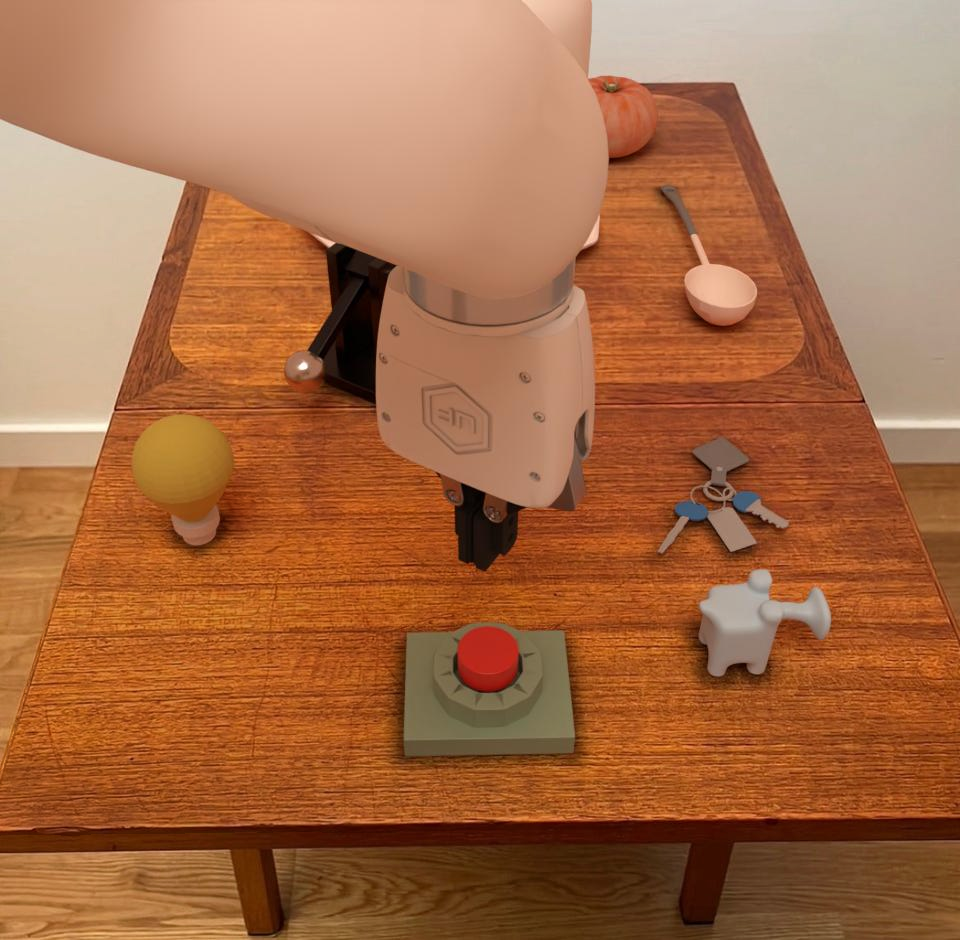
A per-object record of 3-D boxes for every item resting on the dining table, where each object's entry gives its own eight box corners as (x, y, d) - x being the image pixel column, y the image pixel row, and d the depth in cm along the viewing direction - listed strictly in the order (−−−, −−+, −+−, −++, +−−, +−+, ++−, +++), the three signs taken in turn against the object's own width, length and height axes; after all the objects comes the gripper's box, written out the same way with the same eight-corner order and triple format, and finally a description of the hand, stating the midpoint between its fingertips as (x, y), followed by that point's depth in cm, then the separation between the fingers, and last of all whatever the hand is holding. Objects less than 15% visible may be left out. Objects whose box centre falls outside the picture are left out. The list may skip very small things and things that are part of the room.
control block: (404, 756, 65) (402, 722, 62) (407, 649, 70) (405, 613, 68) (573, 753, 65) (577, 718, 62) (562, 646, 71) (565, 611, 68)
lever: (319, 405, 84) (303, 385, 81) (286, 391, 85) (269, 372, 82) (401, 269, 87) (388, 246, 84) (368, 258, 88) (355, 234, 85)
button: (458, 693, 64) (457, 674, 63) (457, 644, 67) (457, 625, 66) (519, 692, 64) (520, 673, 63) (516, 643, 67) (517, 625, 66)
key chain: (698, 436, 86) (699, 427, 86) (803, 461, 84) (806, 453, 83) (654, 557, 76) (656, 548, 76) (773, 588, 74) (775, 580, 74)
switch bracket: (398, 413, 88) (391, 289, 80) (300, 373, 92) (284, 251, 84) (452, 363, 93) (450, 241, 85) (357, 327, 97) (347, 207, 89)
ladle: (695, 343, 94) (699, 291, 92) (637, 227, 118) (639, 184, 116) (765, 339, 95) (771, 287, 92) (693, 224, 118) (696, 181, 116)
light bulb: (139, 565, 76) (107, 457, 69) (165, 499, 81) (137, 392, 74) (235, 570, 75) (213, 461, 69) (255, 502, 80) (236, 395, 74)
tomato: (589, 180, 118) (595, 108, 112) (540, 139, 125) (543, 70, 120) (673, 159, 121) (682, 89, 116) (621, 121, 129) (627, 53, 123)
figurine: (820, 674, 69) (842, 611, 65) (695, 681, 69) (709, 618, 65) (801, 625, 72) (821, 562, 68) (682, 632, 72) (695, 568, 68)
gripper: (297, 251, 48) (334, 541, 60) (605, 358, 42) (576, 654, 55) (394, 180, 53) (410, 463, 65) (682, 268, 47) (639, 559, 59)
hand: (486, 549), depth 60 cm, fingers closed
